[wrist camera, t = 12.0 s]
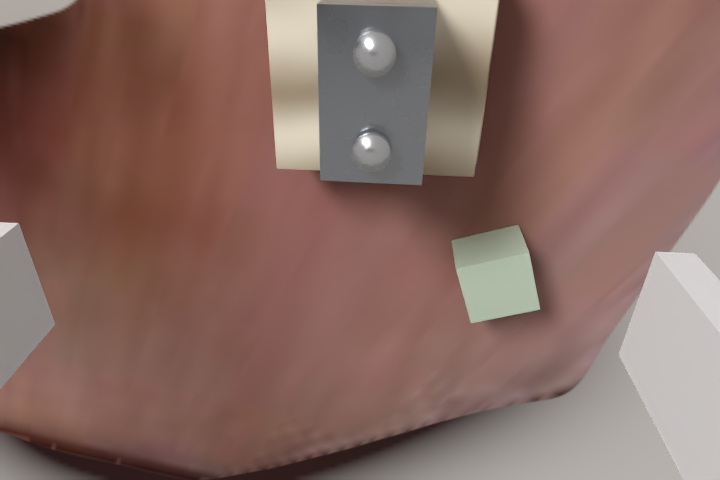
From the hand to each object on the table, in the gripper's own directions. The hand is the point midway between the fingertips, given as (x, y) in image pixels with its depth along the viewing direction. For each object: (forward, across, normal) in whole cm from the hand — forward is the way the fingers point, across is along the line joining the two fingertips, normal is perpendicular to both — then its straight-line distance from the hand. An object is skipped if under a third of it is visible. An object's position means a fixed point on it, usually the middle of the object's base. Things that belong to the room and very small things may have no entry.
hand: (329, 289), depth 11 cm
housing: (+20, 0, 0) cm, 21 cm away
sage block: (+26, +9, -15) cm, 31 cm away
